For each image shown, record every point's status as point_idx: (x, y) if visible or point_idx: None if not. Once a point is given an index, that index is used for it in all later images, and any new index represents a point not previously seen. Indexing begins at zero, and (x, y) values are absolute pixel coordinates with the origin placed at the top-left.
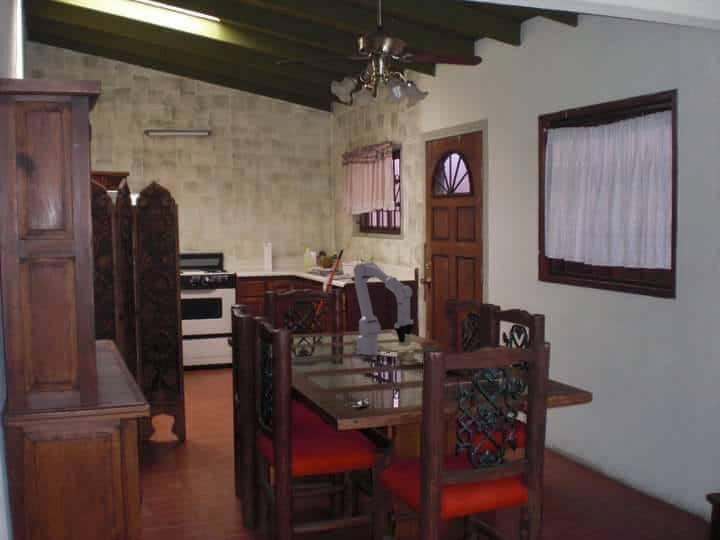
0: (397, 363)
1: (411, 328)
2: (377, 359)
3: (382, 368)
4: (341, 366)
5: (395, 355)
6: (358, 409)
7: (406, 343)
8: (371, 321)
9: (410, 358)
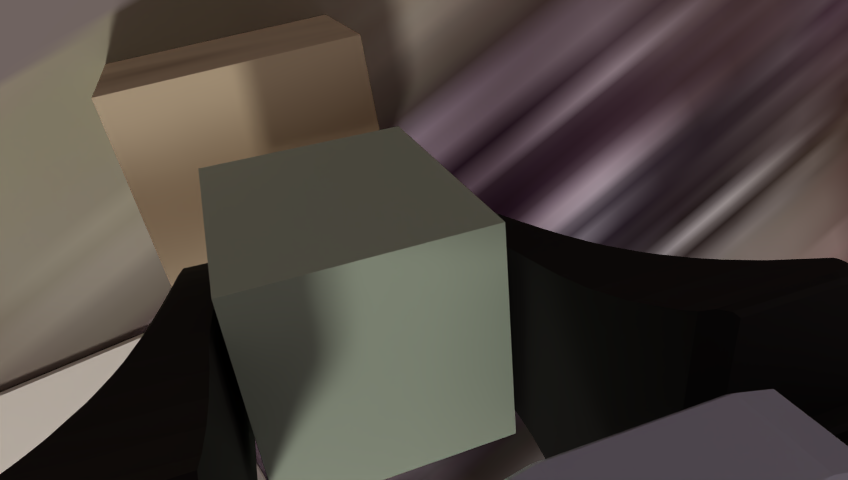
0: (547, 48)
1: (125, 457)
2: None
3: (836, 13)
4: None
5: None
6: None
7: (405, 148)
8: None
9: (266, 32)
